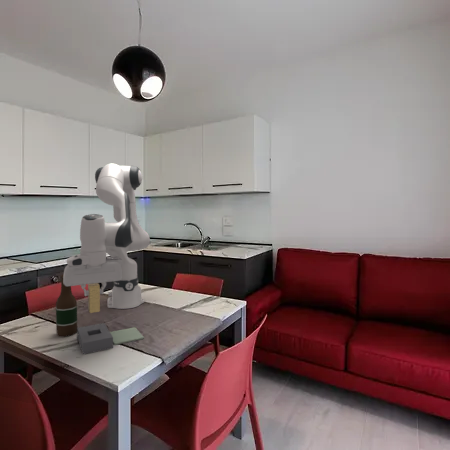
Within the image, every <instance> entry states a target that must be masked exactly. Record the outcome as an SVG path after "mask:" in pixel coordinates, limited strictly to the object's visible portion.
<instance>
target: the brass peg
mask: <svg viewBox="0 0 450 450" xmlns="http://www.w3.org/2000/svg"><path fill="white" fill-rule="evenodd" d="M100 289H101V287H100V283H94V284H87V290H89V296H87V300H88V301H87V305H88V306H87V308H88V309H87V310H88V312H89V314H93V313H99V312H101V294H100Z"/></svg>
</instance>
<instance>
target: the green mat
mask: <svg viewBox="0 0 450 450" xmlns="http://www.w3.org/2000/svg"><path fill="white" fill-rule="evenodd" d="M109 332H110V333H111V335H112V336H113V346H117V345H118V346H119V345H122V344H126V343H130V342H135V341H141V340H144V339H145V336H144V335H143V334H142V333H141V332H140V331H139V330H138V329H137V328H136V326H135V327H130V328H123V329H119V330H114V331H113V330H112V331H109Z"/></svg>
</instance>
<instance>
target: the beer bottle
mask: <svg viewBox="0 0 450 450" xmlns="http://www.w3.org/2000/svg"><path fill="white" fill-rule="evenodd" d="M63 276H64V273H63V274H61V275H60V278H61V281H60V282H61V285H60V286H61V287H60V294H59V296H58V297H57V299H56V303H55V326H56V329H55V331H56V335H57V336H58V337H64V338H65V337H70V336H73V335H75V334H77V328H78V305H77V304H78V303H77V299H76V297H75V296H74V294H73V291H72V286H65V285H64V284H63Z"/></svg>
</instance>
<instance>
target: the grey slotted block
mask: <svg viewBox="0 0 450 450" xmlns="http://www.w3.org/2000/svg"><path fill="white" fill-rule="evenodd" d="M110 332H111V331H110V330H109V329H108V327H107V325H106V323H104V322H102V323H95V324H91V325H84V326H80V327H77V333H76V334H77V335H76V336H77V337H76V338H77V340H78V344H79V346H80V350H81V352H82V355H86V354H91V353H96V352H100V351H105V350H110V349H113V348H114V343H113V336H112V335H111V333H110Z"/></svg>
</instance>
